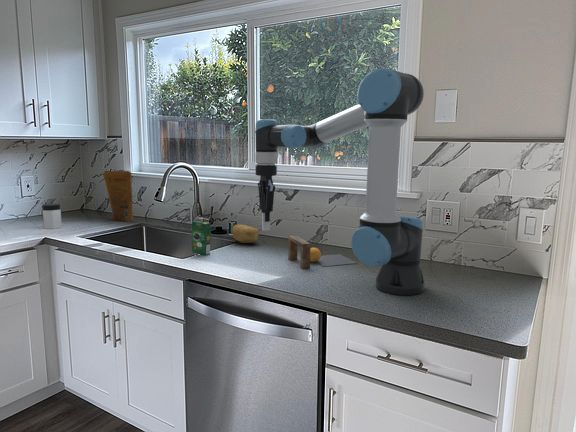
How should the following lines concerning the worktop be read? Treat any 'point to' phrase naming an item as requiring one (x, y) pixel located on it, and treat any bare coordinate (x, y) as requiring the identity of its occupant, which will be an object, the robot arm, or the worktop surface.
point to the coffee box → (201, 237)
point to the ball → (314, 254)
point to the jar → (51, 216)
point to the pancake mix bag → (119, 194)
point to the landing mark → (334, 260)
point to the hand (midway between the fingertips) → (266, 229)
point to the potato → (245, 233)
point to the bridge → (305, 251)
